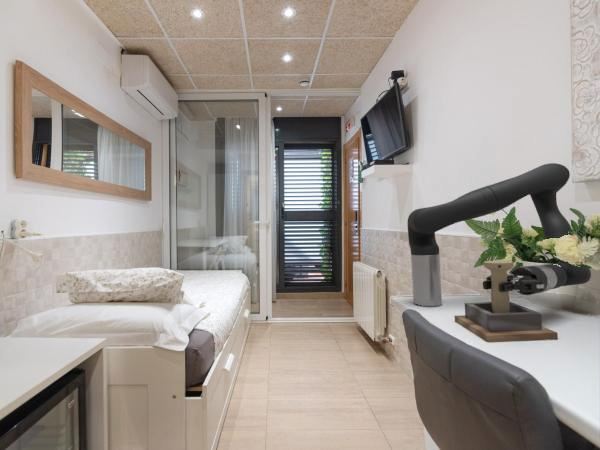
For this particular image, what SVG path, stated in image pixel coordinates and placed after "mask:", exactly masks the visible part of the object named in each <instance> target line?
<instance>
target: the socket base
mask: <svg viewBox="0 0 600 450" xmlns="http://www.w3.org/2000/svg"><path fill="white" fill-rule="evenodd" d="M509 304H510V308H509V309H510V310H509V313H493V309H492V303H491V301H483V302H481V301H480V302H464V315H454V322H456V324H459V325H460V326H462V327H463V328H465V329H466V330H468V331H469V332H472V333H473V334H474V335H476V336H477V337H479V338H481V339H482V340H485V342H487V343H495V342H496V343H498V342H499V343H500V342H501V343H502V342H521V341H523V342H525V341H543V340H544V341H548V339H550V340H558V338H559V336H558V332H557V331H555V330H551V329H550V328H548V327H545V326H543V324H542V323H543V320H542V319H543V318H542V313H541V312H540V311H536V310H534V309H531V308H528V307H525V306H523V305H520V304H517V303H514V302H512V301H510V303H509ZM546 339H547V340H546Z"/></svg>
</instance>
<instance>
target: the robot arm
mask: <svg viewBox="0 0 600 450" xmlns="http://www.w3.org/2000/svg"><path fill="white" fill-rule="evenodd" d="M570 175H571V174H570V170H569V168H567V166H565V165H563V164H560V163H554V162H553V163H552V162H550V163H545V164H542V165H539V166H537V167H535V168H533V169H531V170H528V171H527V172H524V173H522V174H519V175H517V176H513V177H510V178H507V179H505V180H502V181H499V182H496V183H493V184H492V183H491V184H489V185H486V186H482V187H479V188H476V189H474V190H471V191H469V192H467V193H465V194H463V195H461V196H459V197H457V198H455V199H453V200H451V201H449V202H446V203H440V204H437V205H433V206H428V207H422V208H421V207H420V208H417V209H414V210H413V211H411V212H410V214H409V215H408V217H407V235H408V245H409V248H410V261H411V276H412V277H411V279H412V282H411V283H412V298H413V299H412V300H413V301H412V302H414V303H415V304H414V303H413V304H414V305H416V304H418V305H417V306H420V305H421V306H420V307H439V306H441V305H443V302H442V300H443V299H442V297H443V296H442V278H441V275H442V274H441V261H440V260H441V258H440V247H439V244H438V243H437V239H436V232H438V231H441V230H442V229H445V228H447V227H449V226H452V225H454V224H455V225H456V224H457V223H460V222H464V221H469V220H474V219H478V218H481V217H483V216H486V215H487V216H489V215H491V214H493V213H496V212H499V211H502V210H504V209H506V208H507V207H510V206H511V205H513V204H515V203H516V202H518V201H520V200H522V199H523V198H525V197H528V196H530V198H531V200H532V203H533V205H534V208H535V209H536V210H535V211H536V212H537V215H538V218H539V221H540V225H541V228H543V229H542V233H543V238H544V240H545V239H549V238H560V237H562V236H564V235H568V234H569V233H568V231H569V230H572V231H573V229H572V226H571V224H570V223H569V221H568V220H567V219H566V217H565V216H564V215H563V214H562V213H561V210H560V209H559V207H558V204H557V203H558V202H557V194H558V192H559V191H560V190H562V189H563V187H565V186H566V184H567V183H568V181H569V179H570ZM549 255H550V256H552V255H551V254H549ZM553 264H558V265H560V266H561V267H559V266H557V265H553ZM591 278H592V271H591V269H590V267H589V266H588V267H578V266H574V265H571V264H569V263H566V262H564V261H560V262H554V263H547V264H533V265H526V266H520V267H516V268H514V269H513V270H512V271H510V273H508V274H507V282H503V283H499V292H507V291H509V292H512V293H514V292H517V293H518V294H520V295H524V296H531V295H536V294H540V293H544V292H547V291H551V290H554V289H558V288H559V289H560V287H566V286H574V285H583V284H586V283H589V281H590V280H591ZM482 288H483V290H491V274H490V275H488V276H487V277H486V279H485V280H483V281H482Z"/></svg>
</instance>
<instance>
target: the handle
mask: <svg viewBox="0 0 600 450" xmlns="http://www.w3.org/2000/svg"><path fill="white" fill-rule="evenodd" d="M483 267H484V268H486V269H487V270H489V271H490V275H491V289H490V300H491V301H490V302H491V303H492V309H493V313H509V310H510V309H509V308H510V304H509V303H510V302H511V301H510V293H509V292H510V291H507V292H499V283H503V282H507V273H508V271H509V270H512V269H513V268H514V262H513V261H509V260H508V261H507V260H485V261H483Z"/></svg>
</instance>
